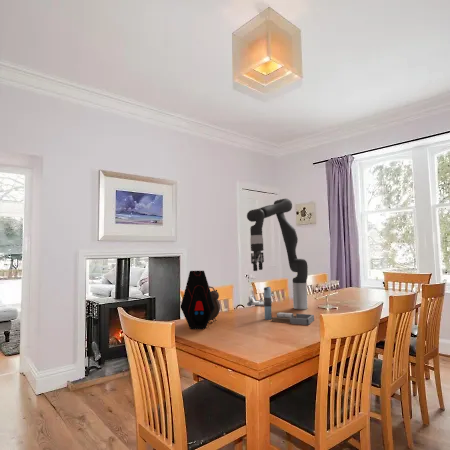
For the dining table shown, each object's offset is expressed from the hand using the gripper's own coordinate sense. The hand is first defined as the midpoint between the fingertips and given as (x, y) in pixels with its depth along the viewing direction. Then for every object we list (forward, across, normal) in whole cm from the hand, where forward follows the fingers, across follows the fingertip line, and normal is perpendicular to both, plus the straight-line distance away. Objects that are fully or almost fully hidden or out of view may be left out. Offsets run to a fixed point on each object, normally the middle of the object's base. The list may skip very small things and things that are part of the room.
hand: (258, 270), depth 201 cm
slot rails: (+28, 0, +14) cm, 32 cm away
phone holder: (+29, -44, -16) cm, 55 cm away
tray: (+28, 0, +25) cm, 38 cm away
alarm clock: (+28, +20, -24) cm, 42 cm away
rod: (+28, 0, +5) cm, 29 cm away
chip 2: (+28, 0, +17) cm, 33 cm away
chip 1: (+28, 0, +13) cm, 31 cm away
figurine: (+28, +34, -22) cm, 49 cm away
